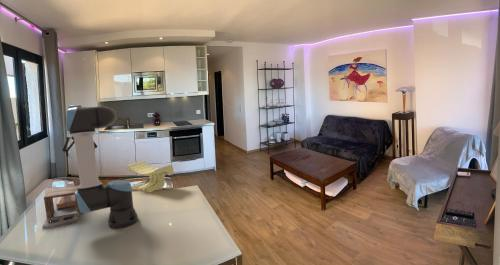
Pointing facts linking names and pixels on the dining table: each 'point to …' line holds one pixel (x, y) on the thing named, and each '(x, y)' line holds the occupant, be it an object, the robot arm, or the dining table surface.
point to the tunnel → (50, 207)
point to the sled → (66, 204)
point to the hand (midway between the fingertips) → (81, 159)
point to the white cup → (68, 198)
